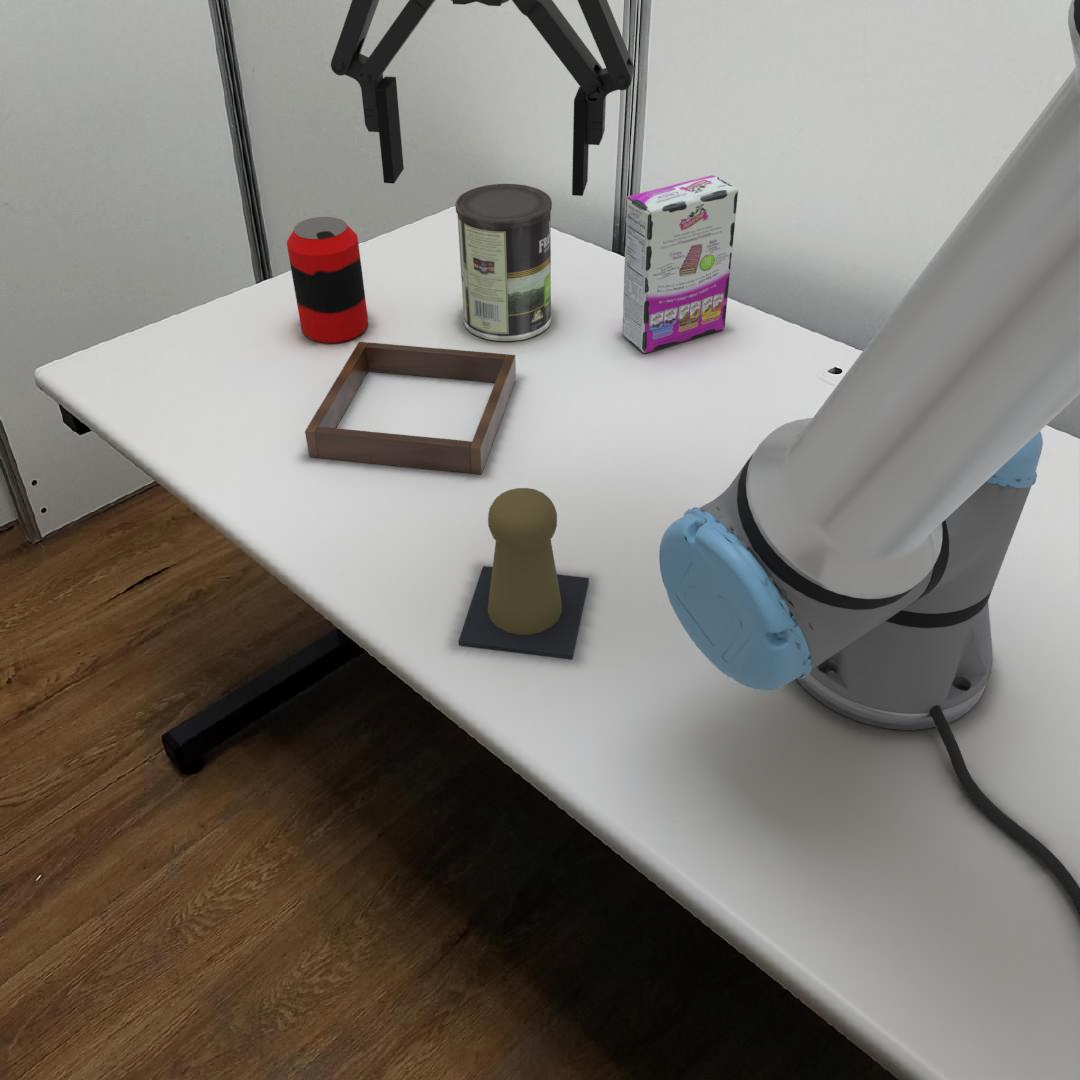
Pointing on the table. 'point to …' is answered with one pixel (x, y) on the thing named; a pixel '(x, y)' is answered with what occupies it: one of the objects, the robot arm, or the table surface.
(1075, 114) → the robot arm
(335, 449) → the wooden frame
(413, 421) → the table surface
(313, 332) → the soda can
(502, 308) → the coffee can
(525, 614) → the olive pawn
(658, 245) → the candy bar box
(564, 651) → the mat
